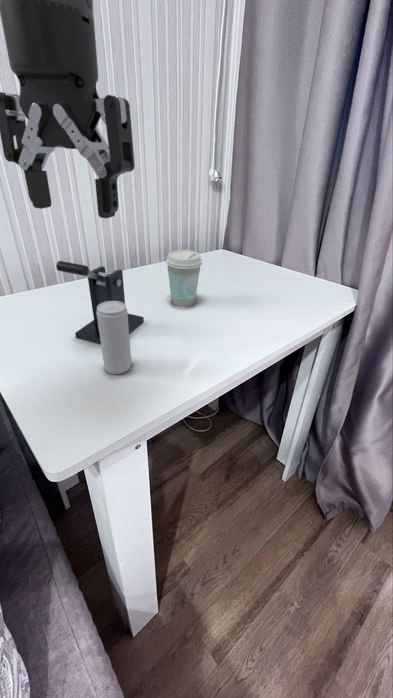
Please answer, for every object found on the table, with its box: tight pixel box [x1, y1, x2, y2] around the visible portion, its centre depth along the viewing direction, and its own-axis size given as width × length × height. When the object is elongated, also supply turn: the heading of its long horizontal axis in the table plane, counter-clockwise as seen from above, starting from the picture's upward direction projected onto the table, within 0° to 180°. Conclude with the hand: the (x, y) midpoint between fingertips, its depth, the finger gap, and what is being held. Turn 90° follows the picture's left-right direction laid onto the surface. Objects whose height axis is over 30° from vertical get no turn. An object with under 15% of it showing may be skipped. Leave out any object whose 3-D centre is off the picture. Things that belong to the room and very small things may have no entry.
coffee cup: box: [165, 249, 203, 307], centre depth 80 cm, size 8×8×12 cm
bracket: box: [74, 265, 145, 345], centre depth 67 cm, size 12×9×13 cm
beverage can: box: [96, 301, 132, 375], centre depth 56 cm, size 5×5×12 cm
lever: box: [56, 260, 110, 287], centre depth 60 cm, size 12×5×2 cm
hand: (74, 212), depth 37 cm, fingers open, 8 cm apart
